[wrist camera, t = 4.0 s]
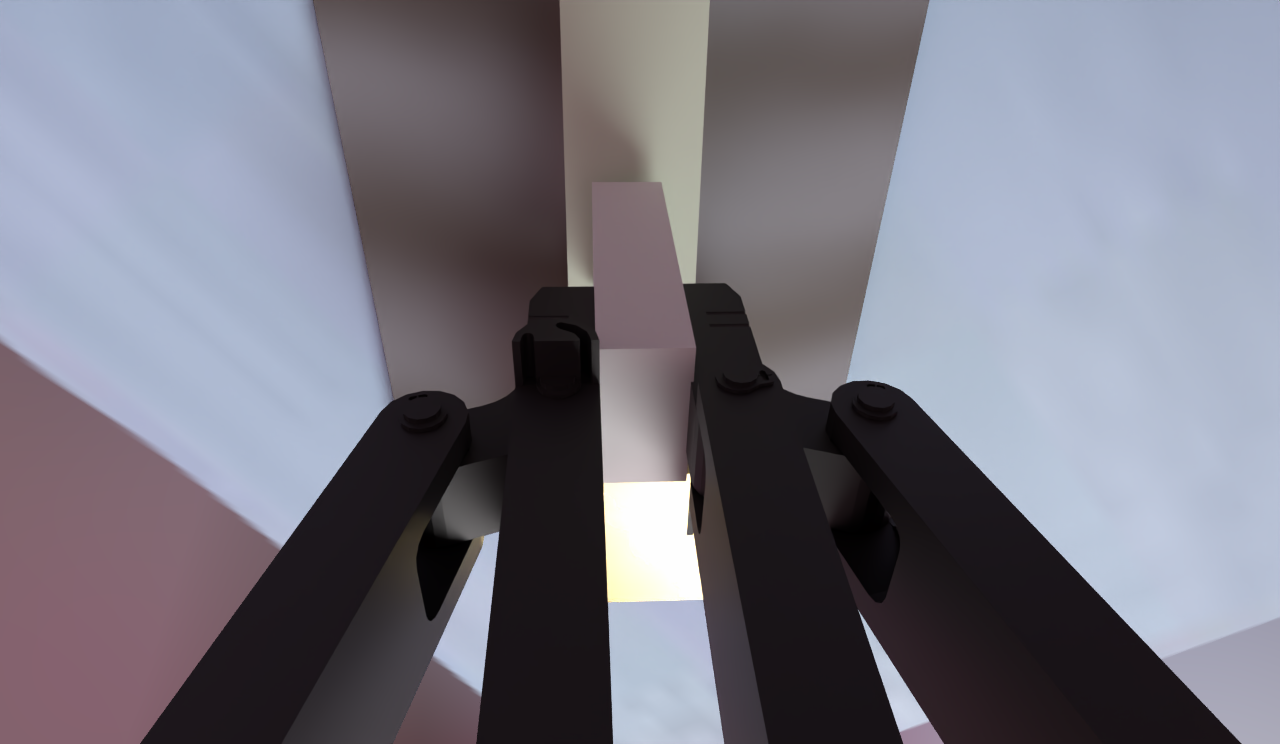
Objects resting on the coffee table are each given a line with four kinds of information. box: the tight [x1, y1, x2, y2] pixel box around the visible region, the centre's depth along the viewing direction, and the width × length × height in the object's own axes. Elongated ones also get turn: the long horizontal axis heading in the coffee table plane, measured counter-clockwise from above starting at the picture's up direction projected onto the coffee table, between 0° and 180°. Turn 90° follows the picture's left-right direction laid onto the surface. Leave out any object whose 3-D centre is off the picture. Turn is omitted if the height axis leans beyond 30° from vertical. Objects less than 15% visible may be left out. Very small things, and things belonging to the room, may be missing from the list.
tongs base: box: [313, 0, 929, 409], centre depth 18 cm, size 29×15×5 cm, turn 179°
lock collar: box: [604, 466, 703, 602], centre depth 24 cm, size 5×6×6 cm
